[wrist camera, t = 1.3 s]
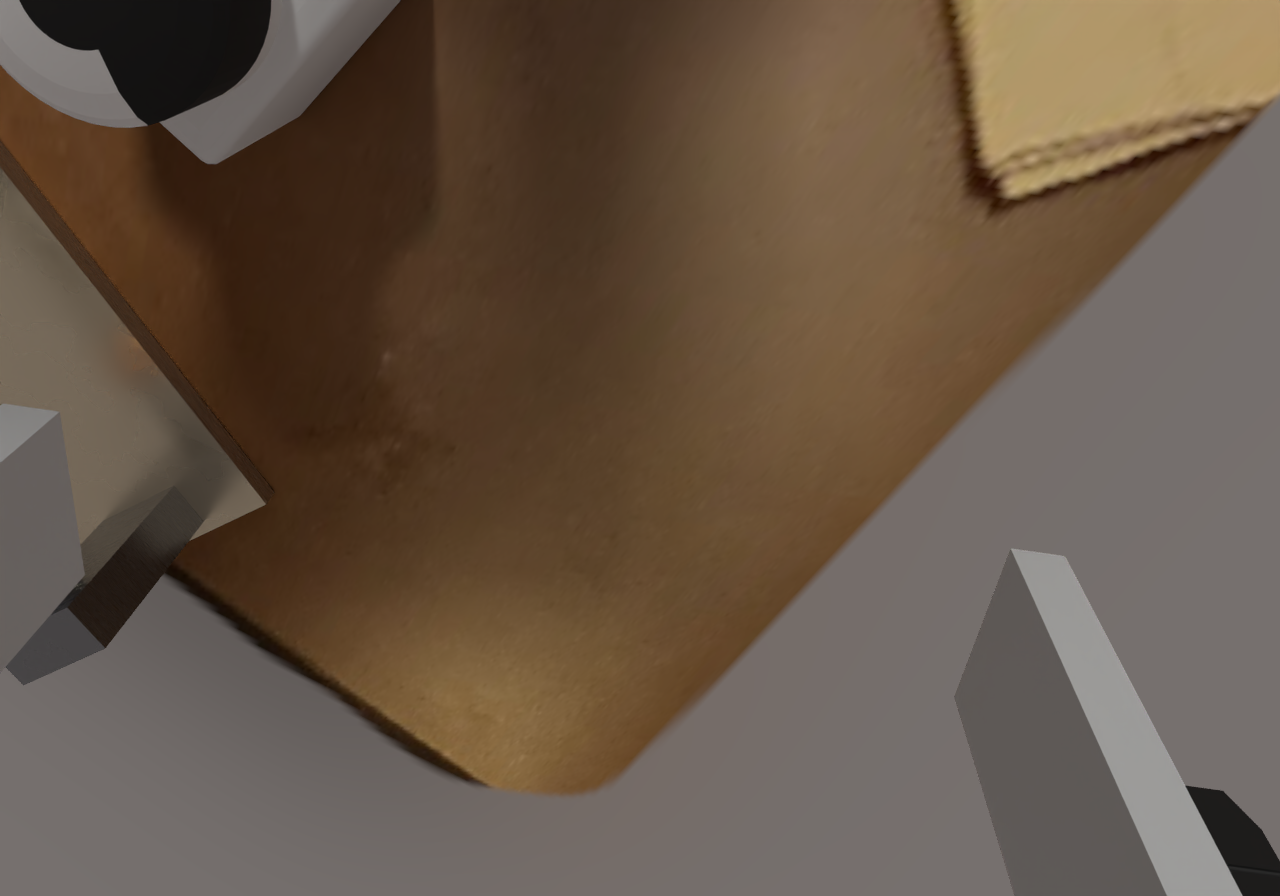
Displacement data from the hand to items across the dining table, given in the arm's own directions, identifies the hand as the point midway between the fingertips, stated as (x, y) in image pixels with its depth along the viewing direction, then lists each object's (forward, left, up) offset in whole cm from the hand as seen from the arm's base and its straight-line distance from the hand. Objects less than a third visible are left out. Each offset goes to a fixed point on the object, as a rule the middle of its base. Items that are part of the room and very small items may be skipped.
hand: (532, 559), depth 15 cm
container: (-11, -8, -26) cm, 30 cm away
